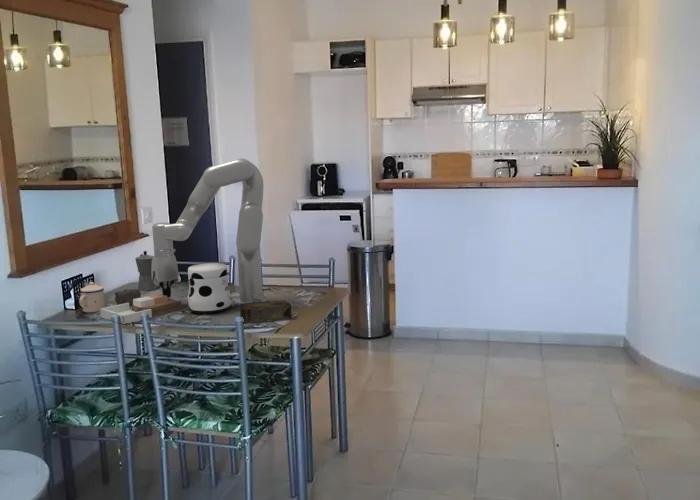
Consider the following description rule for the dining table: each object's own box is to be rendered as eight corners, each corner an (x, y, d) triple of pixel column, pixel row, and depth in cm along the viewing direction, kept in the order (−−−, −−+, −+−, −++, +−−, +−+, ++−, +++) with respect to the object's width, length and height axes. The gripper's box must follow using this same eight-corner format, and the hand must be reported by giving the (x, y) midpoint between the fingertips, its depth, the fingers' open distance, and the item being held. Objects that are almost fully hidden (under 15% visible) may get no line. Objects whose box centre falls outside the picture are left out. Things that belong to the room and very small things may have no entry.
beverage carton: (292, 319, 248) (291, 302, 247) (241, 324, 244) (240, 307, 243) (289, 314, 256) (288, 298, 255) (239, 319, 251) (238, 302, 250)
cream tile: (154, 304, 262) (154, 298, 262) (140, 307, 258) (140, 301, 257) (147, 302, 266) (146, 296, 266) (133, 305, 262) (132, 299, 262)
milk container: (240, 308, 267) (238, 264, 265) (209, 317, 253) (206, 272, 250) (210, 303, 277) (208, 261, 274) (179, 312, 263) (175, 268, 260)
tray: (152, 318, 255) (151, 309, 255) (123, 325, 247) (122, 315, 246) (128, 311, 267) (128, 302, 267) (100, 317, 259) (99, 308, 258)
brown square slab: (181, 309, 267) (180, 301, 266) (150, 317, 257) (149, 308, 256) (162, 304, 276) (162, 296, 276) (132, 311, 266) (131, 303, 266)
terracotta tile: (167, 301, 267) (167, 295, 266) (154, 304, 262) (153, 298, 262) (160, 299, 271) (159, 293, 270) (146, 302, 266) (146, 296, 266)
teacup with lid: (92, 306, 276) (89, 279, 274) (110, 307, 273) (107, 280, 272) (72, 314, 265) (69, 285, 263) (90, 315, 262) (87, 286, 260)
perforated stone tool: (136, 300, 286) (135, 284, 285) (146, 301, 284) (144, 285, 283) (111, 308, 272) (110, 292, 271) (121, 309, 270) (119, 293, 269)
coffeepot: (162, 289, 305) (159, 251, 302) (141, 292, 300) (138, 254, 297) (153, 284, 318) (150, 247, 315) (133, 286, 313) (130, 249, 310)
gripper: (174, 249, 274) (177, 292, 277) (142, 254, 264) (145, 299, 267) (184, 251, 269) (187, 295, 272) (152, 256, 259) (155, 302, 262)
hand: (167, 297), depth 270 cm, fingers closed
